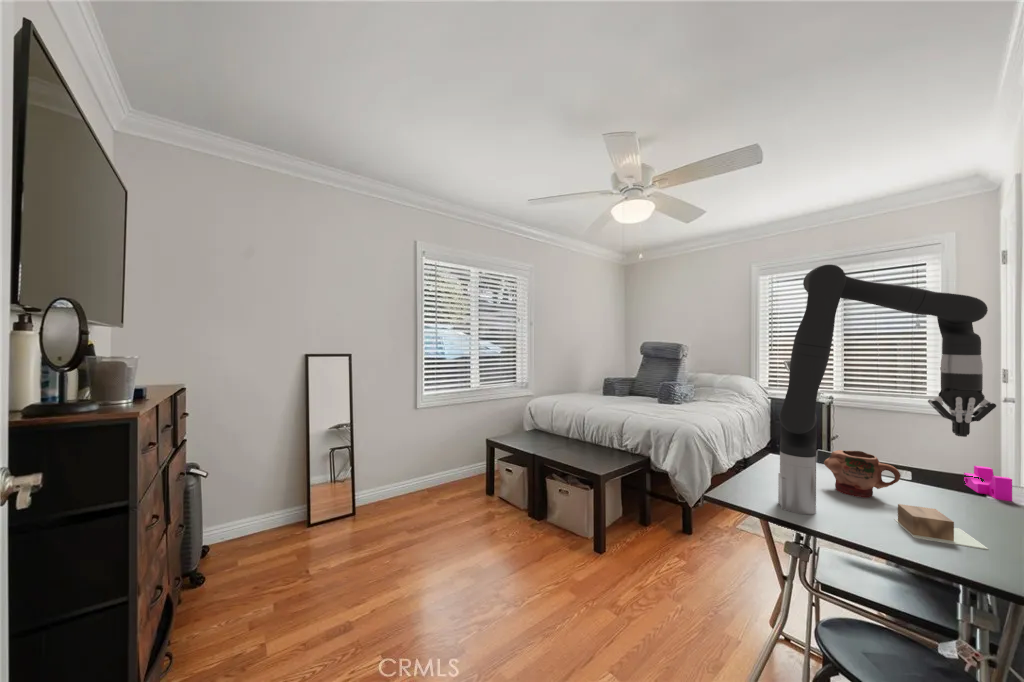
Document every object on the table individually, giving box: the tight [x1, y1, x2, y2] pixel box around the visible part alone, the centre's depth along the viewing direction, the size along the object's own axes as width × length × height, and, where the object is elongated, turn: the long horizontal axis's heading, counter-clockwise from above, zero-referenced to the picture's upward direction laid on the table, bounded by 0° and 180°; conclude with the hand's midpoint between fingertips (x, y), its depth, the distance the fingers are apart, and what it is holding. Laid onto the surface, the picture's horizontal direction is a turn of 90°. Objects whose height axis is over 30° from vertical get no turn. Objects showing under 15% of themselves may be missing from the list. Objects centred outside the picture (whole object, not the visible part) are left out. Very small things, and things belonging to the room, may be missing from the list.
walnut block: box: [897, 503, 955, 541], centre depth 110 cm, size 5×9×8 cm
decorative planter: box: [823, 449, 902, 499], centre depth 137 cm, size 20×12×14 cm, turn 42°
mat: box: [893, 518, 989, 551], centre depth 109 cm, size 14×12×1 cm
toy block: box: [963, 465, 1013, 502], centre depth 140 cm, size 15×6×8 cm, turn 149°
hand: (961, 435), depth 108 cm, fingers closed
